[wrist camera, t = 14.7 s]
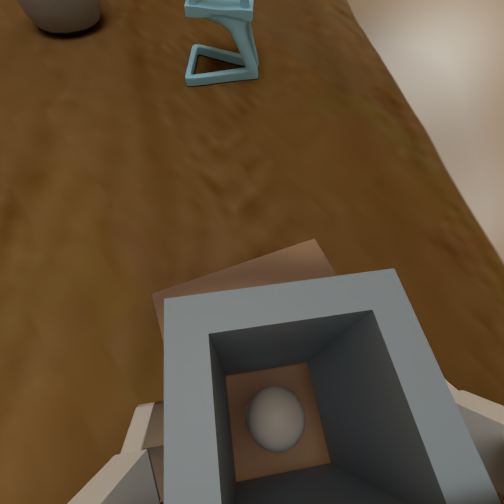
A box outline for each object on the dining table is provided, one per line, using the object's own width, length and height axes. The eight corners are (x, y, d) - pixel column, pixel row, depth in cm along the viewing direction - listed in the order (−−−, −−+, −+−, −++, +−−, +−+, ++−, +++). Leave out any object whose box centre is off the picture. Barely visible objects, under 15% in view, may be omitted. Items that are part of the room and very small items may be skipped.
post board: (484, 542, 14) (749, 681, 7) (258, 706, 11) (291, 1229, 4) (310, 246, 22) (345, 165, 15) (156, 300, 19) (107, 233, 12)
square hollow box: (361, 488, 11) (545, 599, 4) (213, 520, 11) (162, 706, 4) (320, 339, 14) (394, 268, 7) (203, 357, 14) (164, 298, 7)
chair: (258, 90, 32) (268, -63, 22) (185, 86, 32) (161, -72, 22) (258, 56, 36) (267, -89, 26) (193, 52, 36) (176, -96, 25)
